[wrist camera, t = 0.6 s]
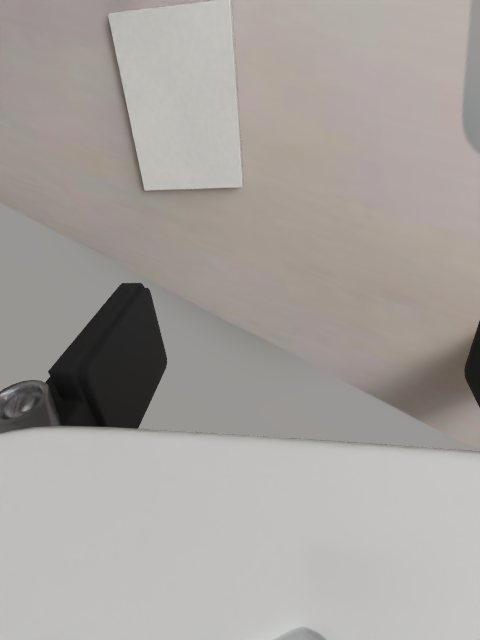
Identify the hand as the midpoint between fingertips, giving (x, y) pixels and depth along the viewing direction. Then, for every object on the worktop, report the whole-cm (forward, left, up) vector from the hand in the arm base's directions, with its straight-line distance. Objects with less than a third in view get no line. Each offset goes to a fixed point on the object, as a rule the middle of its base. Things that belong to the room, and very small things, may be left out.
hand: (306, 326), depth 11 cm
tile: (-4, -11, -29) cm, 31 cm away
